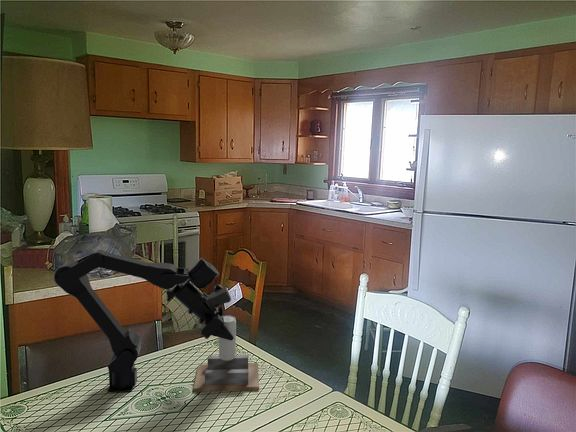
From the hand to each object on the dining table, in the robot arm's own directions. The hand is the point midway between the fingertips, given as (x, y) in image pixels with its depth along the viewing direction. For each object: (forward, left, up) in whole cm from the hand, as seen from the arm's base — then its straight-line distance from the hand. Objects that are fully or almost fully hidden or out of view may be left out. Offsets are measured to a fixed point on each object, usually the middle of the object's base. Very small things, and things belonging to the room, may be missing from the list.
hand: (232, 335), depth 133 cm
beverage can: (-1, 0, -7) cm, 7 cm away
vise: (-1, 0, -13) cm, 13 cm away
